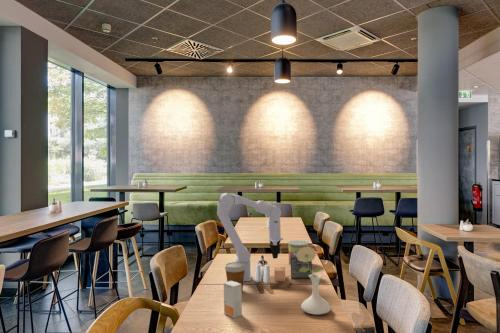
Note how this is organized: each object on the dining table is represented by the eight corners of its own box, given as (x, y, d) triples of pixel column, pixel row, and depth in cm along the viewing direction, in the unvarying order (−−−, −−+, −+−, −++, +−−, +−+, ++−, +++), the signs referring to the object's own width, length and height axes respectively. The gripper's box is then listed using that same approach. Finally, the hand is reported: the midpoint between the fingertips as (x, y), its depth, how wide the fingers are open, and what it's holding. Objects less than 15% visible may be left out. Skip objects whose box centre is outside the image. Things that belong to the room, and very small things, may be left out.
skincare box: (223, 313, 138) (223, 282, 138) (231, 310, 141) (231, 280, 141) (234, 318, 134) (233, 286, 134) (242, 314, 137) (242, 283, 137)
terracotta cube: (274, 281, 168) (274, 270, 168) (274, 277, 173) (274, 267, 173) (285, 281, 168) (285, 270, 168) (285, 277, 173) (285, 267, 173)
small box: (311, 275, 184) (311, 254, 184) (312, 279, 178) (312, 258, 178) (290, 274, 185) (290, 254, 185) (290, 278, 179) (290, 257, 179)
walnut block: (269, 289, 166) (269, 282, 166) (270, 282, 175) (270, 276, 175) (289, 289, 166) (289, 282, 165) (288, 282, 174) (288, 276, 174)
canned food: (289, 266, 200) (289, 245, 200) (288, 261, 211) (287, 240, 211) (309, 266, 200) (309, 244, 199) (307, 260, 211) (307, 240, 211)
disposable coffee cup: (243, 295, 157) (243, 268, 157) (222, 294, 159) (222, 267, 159) (247, 288, 167) (247, 262, 166) (228, 287, 169) (227, 261, 168)
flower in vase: (331, 307, 143) (330, 244, 143) (330, 319, 132) (329, 251, 132) (298, 304, 147) (297, 242, 146) (294, 315, 136) (293, 249, 135)
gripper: (282, 232, 175) (283, 260, 175) (282, 226, 189) (282, 252, 189) (268, 232, 175) (268, 260, 175) (269, 226, 190) (269, 252, 190)
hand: (275, 256), depth 182 cm, fingers open, 7 cm apart
